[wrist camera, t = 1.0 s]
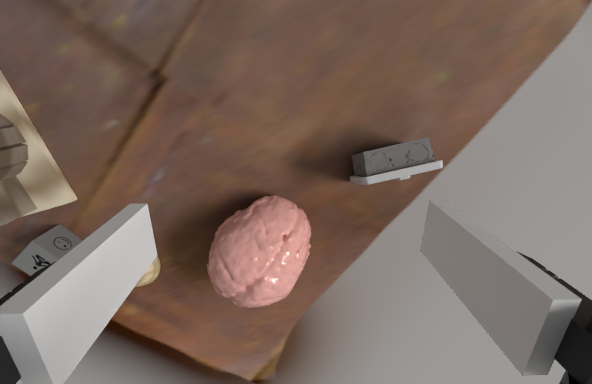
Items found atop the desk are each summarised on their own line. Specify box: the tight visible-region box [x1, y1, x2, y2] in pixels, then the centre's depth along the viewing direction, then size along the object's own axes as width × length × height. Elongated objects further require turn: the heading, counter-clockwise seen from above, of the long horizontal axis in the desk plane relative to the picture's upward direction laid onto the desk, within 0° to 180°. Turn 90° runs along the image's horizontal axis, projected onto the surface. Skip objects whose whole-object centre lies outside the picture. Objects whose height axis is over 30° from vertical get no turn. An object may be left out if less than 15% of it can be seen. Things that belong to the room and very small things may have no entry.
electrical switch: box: [349, 137, 443, 185], centre depth 36 cm, size 9×5×9 cm, turn 103°
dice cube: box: [12, 224, 83, 276], centre depth 41 cm, size 5×5×5 cm
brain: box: [207, 195, 311, 308], centre depth 39 cm, size 16×13×12 cm
